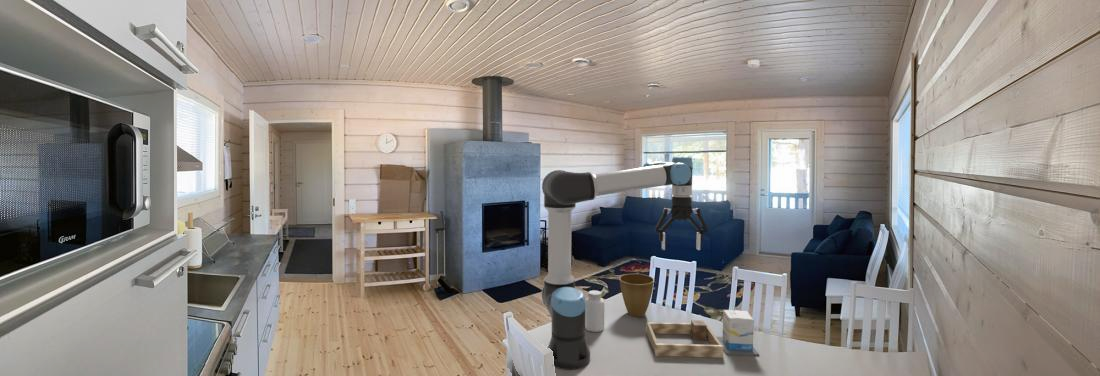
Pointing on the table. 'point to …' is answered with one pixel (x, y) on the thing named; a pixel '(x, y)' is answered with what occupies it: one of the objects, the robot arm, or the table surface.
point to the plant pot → (636, 293)
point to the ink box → (738, 330)
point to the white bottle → (594, 312)
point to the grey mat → (736, 352)
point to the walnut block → (698, 330)
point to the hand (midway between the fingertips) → (680, 249)
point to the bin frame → (682, 349)
